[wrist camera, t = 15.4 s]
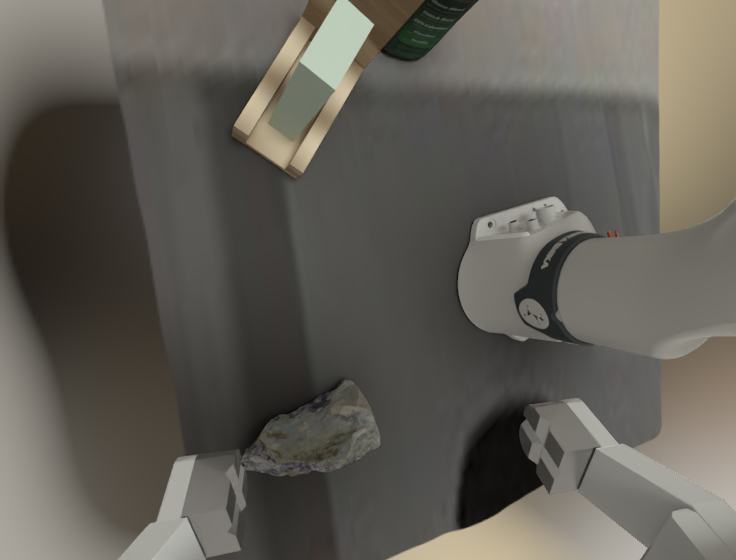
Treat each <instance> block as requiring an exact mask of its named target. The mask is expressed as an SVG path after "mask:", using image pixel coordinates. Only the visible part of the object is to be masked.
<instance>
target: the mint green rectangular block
mask: <svg viewBox="0 0 736 560" xmlns="http://www.w3.org/2000/svg"><path fill="white" fill-rule="evenodd" d="M373 26H374V24H373V23H372V22H371V21H370V20H369V19H368V18H367V17H365V16H364V15H363V14H362V13H361V12H360V11H359V10H358V9H357V8H356V7H355V6H354V5H352V4H351V3H350V2H349V1H348V0H337V1H336V2H335V4H334V6H333V7H332V9H331V11H330V12H329V14H328V15H327V17H326V19H325V20H324V22H323V24H322V25H321V27H320V28H319V30H318V32H317V33H316V35H315V37H314V38H313V40H312V41H311V43H310V45H309V46H308V48H307V50H306V51H305V53H304V55H303V56H302V58H301V59H300V61H299V63H298V65H297V67H296V69H295V71H294V73H293V75H292V77H291V79H290V81H289V83H288V84H287V86H286V88H285V90H284V92H283V94H282V96H281V98H280V100H279V102H278V104H277V106H276V108H275V110H274V112H273V114H272V116H271V117H270V119H269V121H268V123H267V124H269V125H270V126H271V127H273V128H274V129H276V130H277V131H278V132H280V133H281V134H283V135H284V136H285V137H287V138H288V139H290V140H291V141H292V142H293V141H294V140H295V139H296V137H297V136H298V135H299V134H300V133H301V131H302V130H303V129H304V128H305V127H306V125H307V124H308V123H309V122H310V121H311V119H312V118H313V117H314V116H315V114H316V113H317V112H318V111H319V110H320V108H321V107H322V106H323V105H324V104H325V102H326V101H327V100H328V99H329V98H330V96H331V95H332V94H333V93H334V92H335V90H336V89H337V87H338V85H339V84H340V82H341V80H342V78H343V77H344V75H345V73H346V72H347V70H348V68H349V67H350V65H351V63H352V61H353V60H354V58H355V56H356V55H357V53H358V51H359V50H360V48H361V46H362V45H363V43H364V41H365V39H366V38H367V36H368V34H369V33H370V31H371V29H372V28H373Z"/></svg>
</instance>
